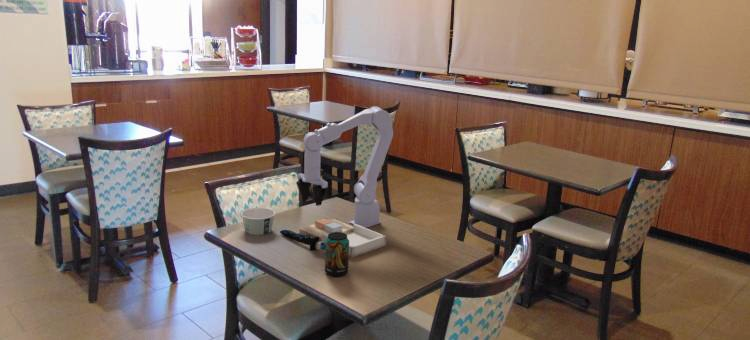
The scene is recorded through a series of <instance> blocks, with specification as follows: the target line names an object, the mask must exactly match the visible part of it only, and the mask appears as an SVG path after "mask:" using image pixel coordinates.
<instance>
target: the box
mask: <svg viewBox="0 0 750 340" xmlns="http://www.w3.org/2000/svg"><path fill="white" fill-rule="evenodd" d="M353 227H354V230H353V232H351V233H347V234H346V235H347V238H348V240H349V258H354V257H358V256H360V255H363V254H366V253H369V252H371V251H375V250H377V249H379V248H382V247H385V246H386V245H387V244H386V243H387V236H386V235H385V234H382V233H379V232H377V231H375V230H372V229H370V228H368V227H367V228H365V227H362V226H360V225H357V224H354V225H353ZM327 238H328V235H326V234H322V237H321V242H326V239H327Z"/></svg>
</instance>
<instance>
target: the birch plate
mask: <svg viewBox="0 0 750 340" xmlns="http://www.w3.org/2000/svg"><path fill="white" fill-rule="evenodd" d="M329 220H330V221H333V222H335V223H338V224H340V225H342V231H340V232H341V233H345V234H347V233H351V232H353V230H354V226H352V225H350V224H347V223H345V222H343V221H340V220H338V219H335V218H332V219H329ZM298 234H301V235H310V238H311V239H312V238H314V237H317V236H318V237H319V242H321V237H322V234H326V235H328V234H330V232H327V231H325V230H323V229H320V228H318V227H316V226H315V223H314V224H310V225H307V226H303V227H301V228H299V230H298Z"/></svg>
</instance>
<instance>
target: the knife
mask: <svg viewBox="0 0 750 340" xmlns="http://www.w3.org/2000/svg"><path fill="white" fill-rule="evenodd" d="M279 233H280V235H282V236H284V237H286V238H287V239H290V240H291V241H295V242H297V243H300V244H304V245H307V246H309V251H315V250H321V251H325V247H326V242H319V237H318V236H317V237H314V238H312V239H311V238H310V235H301V234H299V232H295V231H293V230H289V229H282V230H280V231H279Z"/></svg>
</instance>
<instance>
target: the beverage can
mask: <svg viewBox="0 0 750 340" xmlns="http://www.w3.org/2000/svg"><path fill="white" fill-rule="evenodd" d="M324 251H325V252H324V253H325V255H324V272H325V273H326V274H327V275H328V276H330V277H334V278H336V277H337V278H340V277H343V276H345V275H346V274H347V273H348V272H349V262H350V261H349V258H350V257H349V240H348V238H347V235H346V234H345V233H341V232H333V233H330V234H328V238H327V239H326V247H325V250H324Z"/></svg>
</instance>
